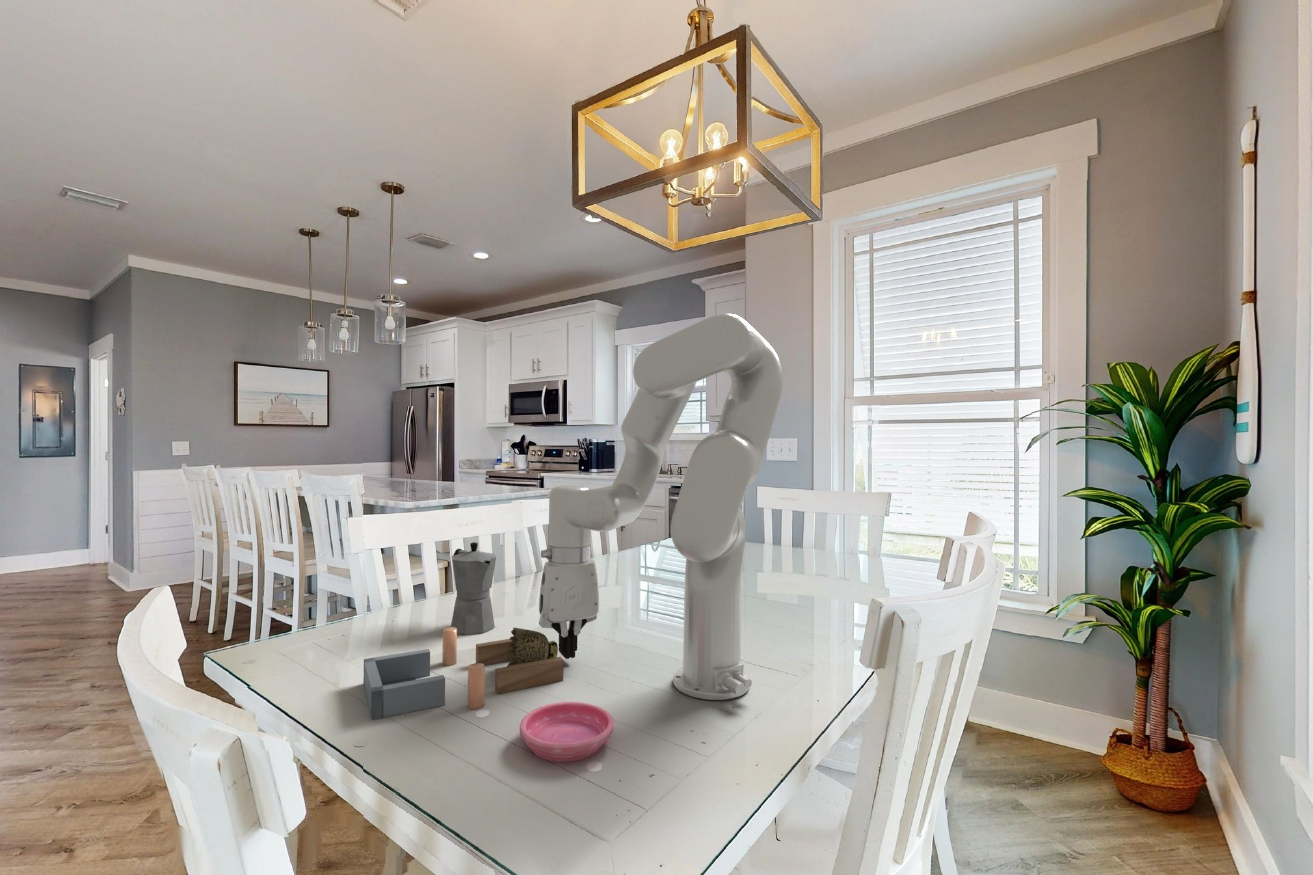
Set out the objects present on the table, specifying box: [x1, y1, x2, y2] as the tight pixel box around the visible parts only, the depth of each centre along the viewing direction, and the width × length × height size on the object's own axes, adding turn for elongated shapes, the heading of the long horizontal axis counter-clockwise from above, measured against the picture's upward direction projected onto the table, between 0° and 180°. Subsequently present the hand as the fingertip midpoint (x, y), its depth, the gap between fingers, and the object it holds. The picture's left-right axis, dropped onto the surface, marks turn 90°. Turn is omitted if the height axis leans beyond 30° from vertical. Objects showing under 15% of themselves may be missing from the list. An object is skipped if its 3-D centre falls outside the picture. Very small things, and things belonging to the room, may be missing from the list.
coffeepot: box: [450, 541, 497, 636], centre depth 127 cm, size 15×9×18 cm, turn 44°
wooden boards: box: [475, 638, 565, 695], centre depth 103 cm, size 14×11×4 cm
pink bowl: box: [519, 701, 615, 763], centre depth 80 cm, size 12×12×3 cm
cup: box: [506, 627, 559, 667], centre depth 105 cm, size 8×7×8 cm
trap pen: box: [362, 648, 446, 721], centre depth 94 cm, size 14×10×4 cm
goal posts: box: [441, 626, 486, 710], centre depth 99 cm, size 21×2×6 cm, turn 30°
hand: (567, 655), depth 108 cm, fingers closed
